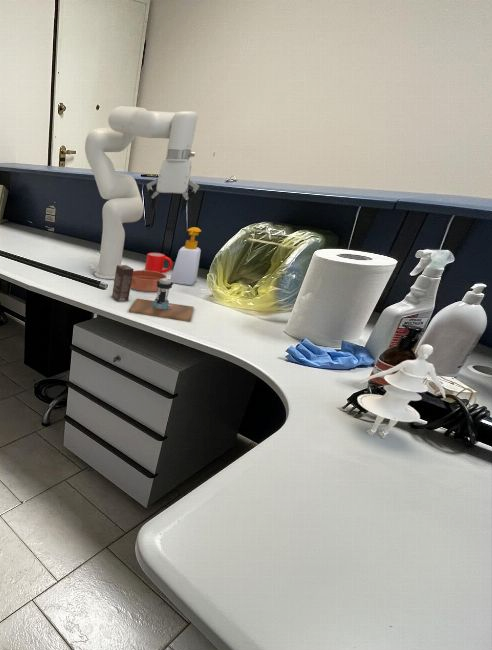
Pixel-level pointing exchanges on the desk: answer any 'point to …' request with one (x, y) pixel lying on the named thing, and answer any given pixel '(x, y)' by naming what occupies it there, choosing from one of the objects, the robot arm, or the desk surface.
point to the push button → (163, 294)
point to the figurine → (401, 391)
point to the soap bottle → (187, 261)
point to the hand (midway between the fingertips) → (167, 210)
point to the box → (122, 282)
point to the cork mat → (162, 310)
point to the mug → (157, 262)
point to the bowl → (146, 280)
